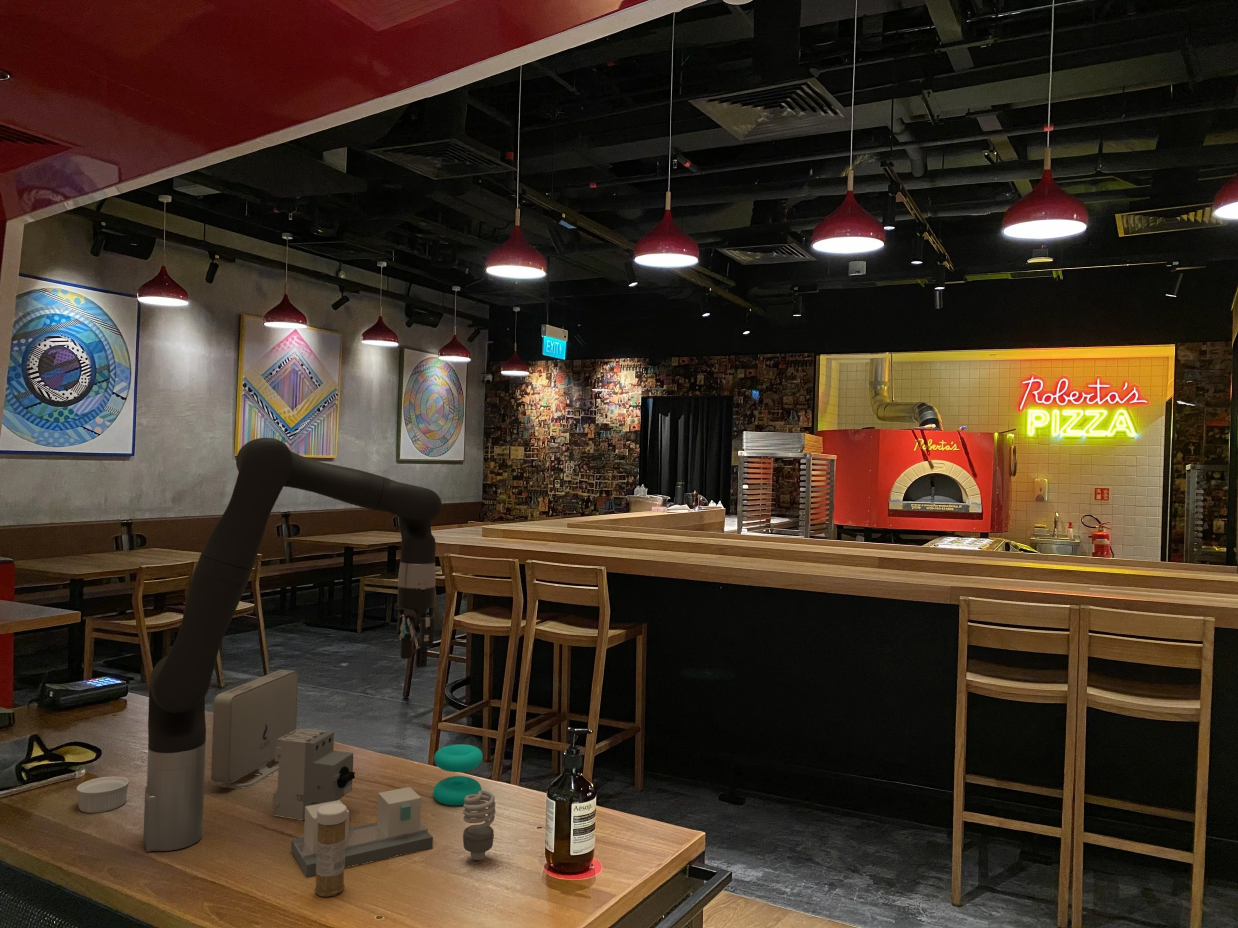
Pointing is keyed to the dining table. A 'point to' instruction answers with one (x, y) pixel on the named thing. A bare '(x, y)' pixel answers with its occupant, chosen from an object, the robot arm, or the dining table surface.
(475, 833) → the light bulb
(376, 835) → the din rail
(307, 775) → the circuit breaker
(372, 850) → the mounting board
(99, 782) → the ramekin
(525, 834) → the dining table surface
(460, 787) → the donuts
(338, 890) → the sprinkles bottle
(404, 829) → the mounted modules
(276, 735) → the network device
